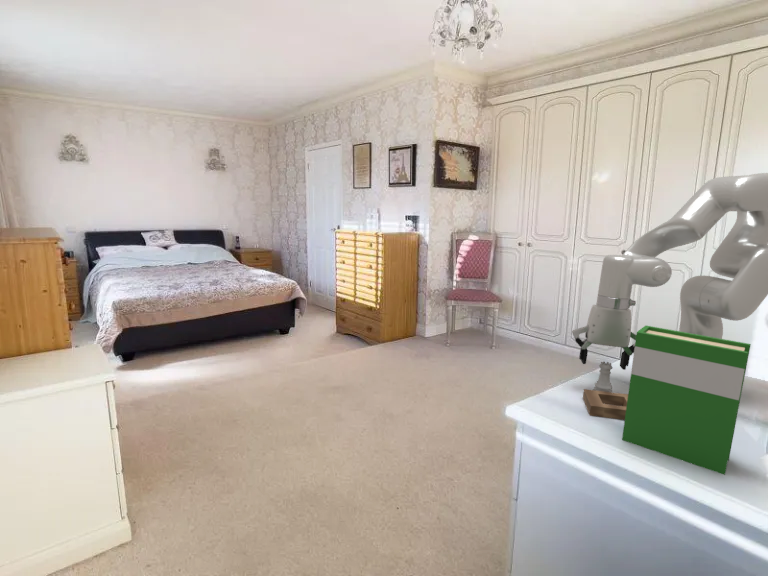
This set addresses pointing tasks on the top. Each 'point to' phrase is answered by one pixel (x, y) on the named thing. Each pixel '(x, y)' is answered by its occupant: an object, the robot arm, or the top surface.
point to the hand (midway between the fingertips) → (602, 365)
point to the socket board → (605, 404)
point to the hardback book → (685, 395)
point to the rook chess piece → (604, 378)
